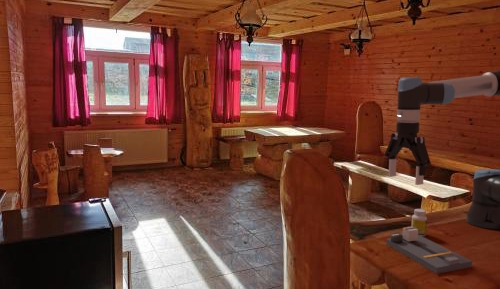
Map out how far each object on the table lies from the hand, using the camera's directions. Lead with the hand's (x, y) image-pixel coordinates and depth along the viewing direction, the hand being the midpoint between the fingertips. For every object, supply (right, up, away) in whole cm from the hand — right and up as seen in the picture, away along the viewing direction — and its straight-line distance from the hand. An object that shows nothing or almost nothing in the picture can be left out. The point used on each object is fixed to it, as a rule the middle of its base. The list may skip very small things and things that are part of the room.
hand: (405, 180), depth 137 cm
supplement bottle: (+10, -23, +11) cm, 27 cm away
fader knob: (+2, -21, 0) cm, 22 cm away
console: (+4, -25, -7) cm, 26 cm away
